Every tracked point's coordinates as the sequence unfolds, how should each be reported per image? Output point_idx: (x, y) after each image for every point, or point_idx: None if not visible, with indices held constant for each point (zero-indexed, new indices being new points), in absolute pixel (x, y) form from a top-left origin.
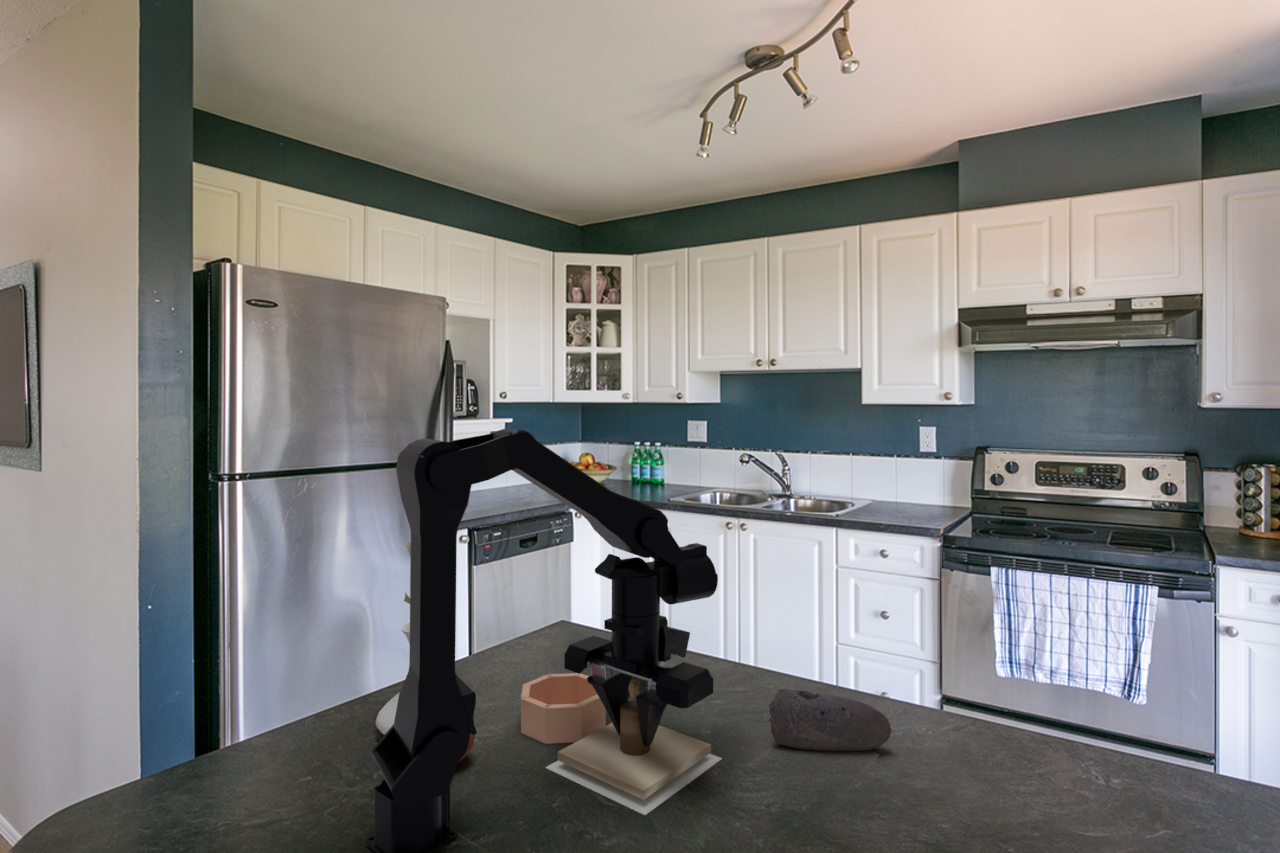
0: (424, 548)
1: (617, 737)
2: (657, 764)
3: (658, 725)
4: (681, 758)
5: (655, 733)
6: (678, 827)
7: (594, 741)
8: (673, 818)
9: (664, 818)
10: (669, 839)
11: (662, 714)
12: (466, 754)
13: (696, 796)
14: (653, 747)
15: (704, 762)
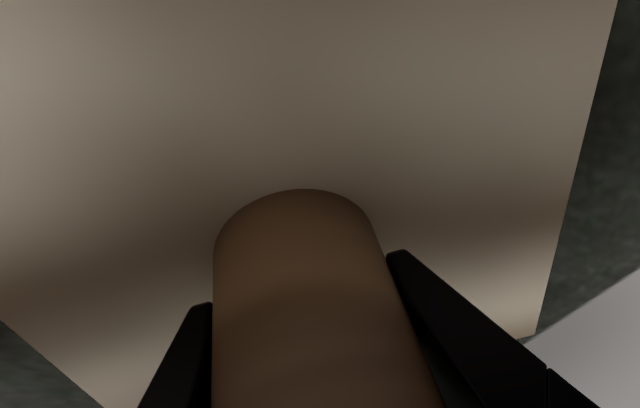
0: None
1: (138, 275)
2: (478, 241)
3: (489, 318)
4: (551, 131)
5: (444, 282)
6: (616, 245)
7: (125, 354)
8: (587, 236)
9: (564, 253)
10: (613, 279)
11: (571, 387)
12: None
13: (610, 118)
14: (355, 182)
15: None
